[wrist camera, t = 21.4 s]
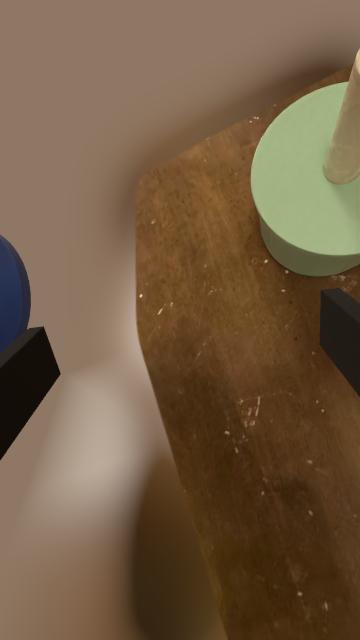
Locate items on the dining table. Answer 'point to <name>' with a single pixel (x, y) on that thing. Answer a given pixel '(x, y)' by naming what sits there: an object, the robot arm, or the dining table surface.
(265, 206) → the tin lid
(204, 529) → the dining table surface
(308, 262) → the tin
